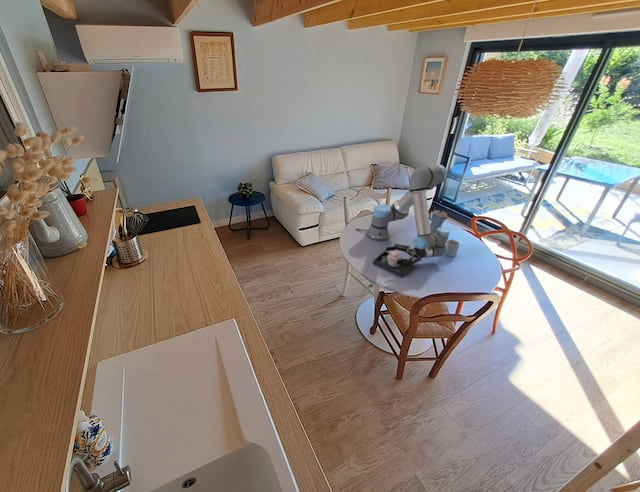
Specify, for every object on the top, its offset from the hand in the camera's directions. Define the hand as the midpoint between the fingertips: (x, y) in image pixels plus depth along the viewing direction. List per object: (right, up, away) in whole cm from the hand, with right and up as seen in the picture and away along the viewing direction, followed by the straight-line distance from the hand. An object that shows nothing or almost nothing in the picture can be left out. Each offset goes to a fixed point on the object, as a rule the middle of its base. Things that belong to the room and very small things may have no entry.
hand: (391, 255), depth 177 cm
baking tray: (+2, -7, +4) cm, 8 cm away
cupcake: (+2, -6, +4) cm, 8 cm away
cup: (+44, 0, +15) cm, 47 cm away
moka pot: (+46, +13, +38) cm, 61 cm away
